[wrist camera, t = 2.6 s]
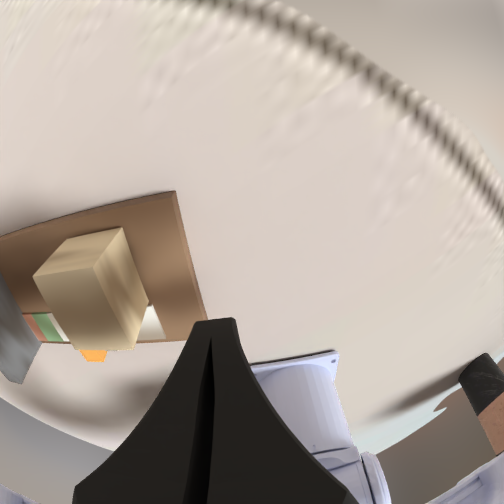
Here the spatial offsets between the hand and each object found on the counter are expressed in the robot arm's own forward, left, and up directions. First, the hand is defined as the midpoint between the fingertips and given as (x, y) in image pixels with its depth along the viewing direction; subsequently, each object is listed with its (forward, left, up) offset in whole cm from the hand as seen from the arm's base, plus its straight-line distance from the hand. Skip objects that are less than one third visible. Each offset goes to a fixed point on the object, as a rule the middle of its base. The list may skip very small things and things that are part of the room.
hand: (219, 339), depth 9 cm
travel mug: (-30, -37, -8) cm, 48 cm away
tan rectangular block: (-1, +7, -6) cm, 9 cm away
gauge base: (-2, +11, -8) cm, 13 cm away
